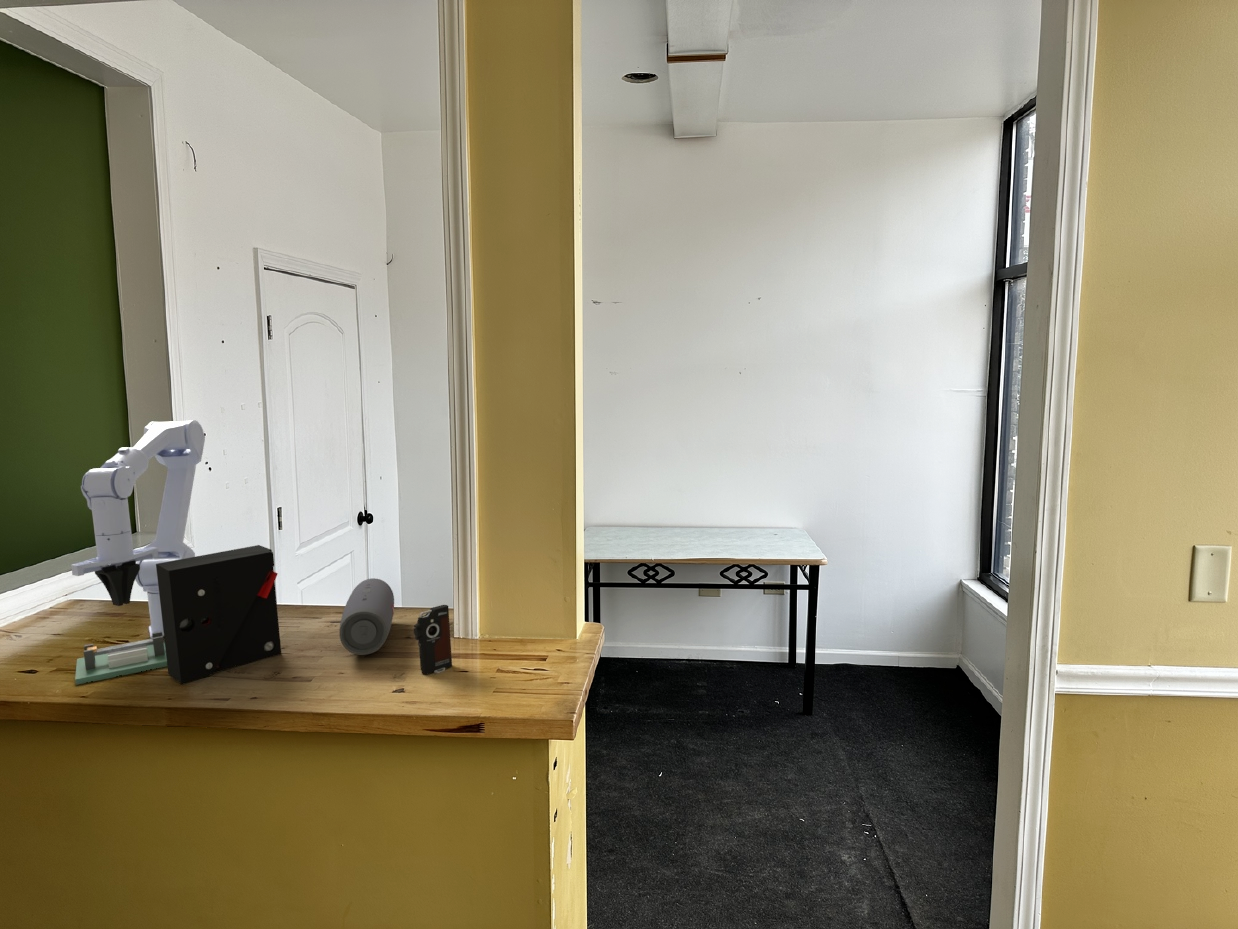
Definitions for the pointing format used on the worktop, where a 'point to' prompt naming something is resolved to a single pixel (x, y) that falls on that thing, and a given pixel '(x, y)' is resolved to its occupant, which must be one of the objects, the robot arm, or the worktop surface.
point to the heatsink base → (121, 661)
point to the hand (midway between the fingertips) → (121, 604)
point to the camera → (434, 640)
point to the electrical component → (218, 611)
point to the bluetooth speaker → (367, 617)
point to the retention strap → (121, 647)
